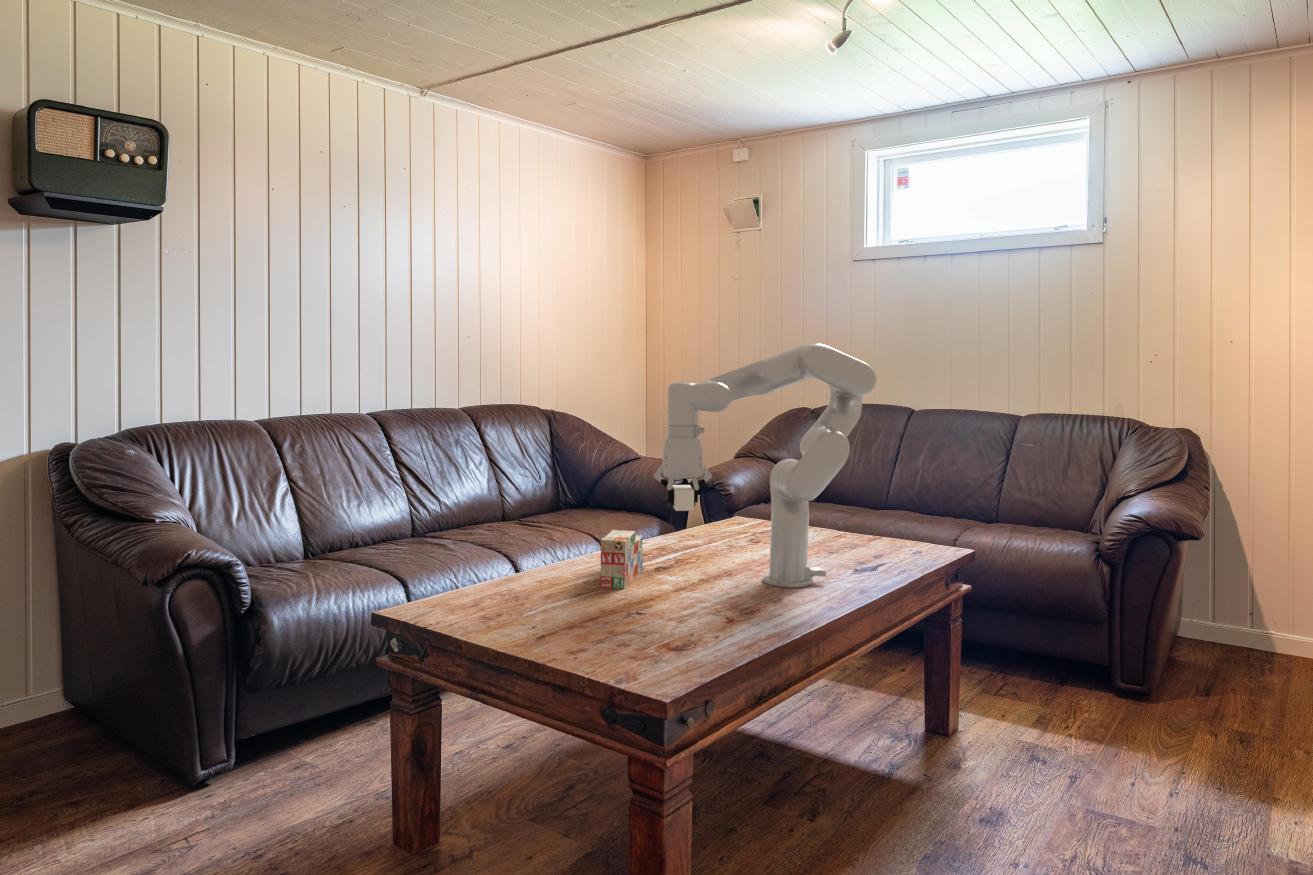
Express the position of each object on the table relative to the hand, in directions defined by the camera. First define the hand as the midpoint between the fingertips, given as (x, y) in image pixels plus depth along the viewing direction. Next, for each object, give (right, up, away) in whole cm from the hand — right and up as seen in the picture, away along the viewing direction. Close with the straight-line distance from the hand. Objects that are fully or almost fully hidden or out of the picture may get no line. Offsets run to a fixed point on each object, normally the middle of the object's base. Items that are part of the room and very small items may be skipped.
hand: (682, 504), depth 217 cm
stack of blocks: (-15, -20, +8) cm, 26 cm away
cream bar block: (0, -1, 0) cm, 1 cm away
